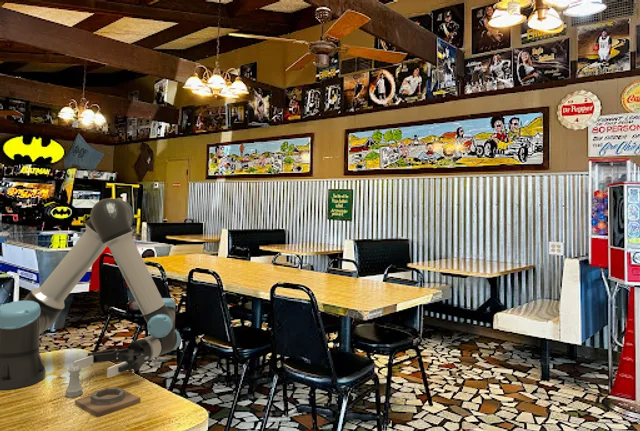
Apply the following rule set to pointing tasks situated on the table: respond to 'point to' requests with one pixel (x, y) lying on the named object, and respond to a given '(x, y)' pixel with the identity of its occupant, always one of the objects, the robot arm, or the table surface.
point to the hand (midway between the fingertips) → (90, 369)
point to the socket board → (106, 407)
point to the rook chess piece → (74, 382)
